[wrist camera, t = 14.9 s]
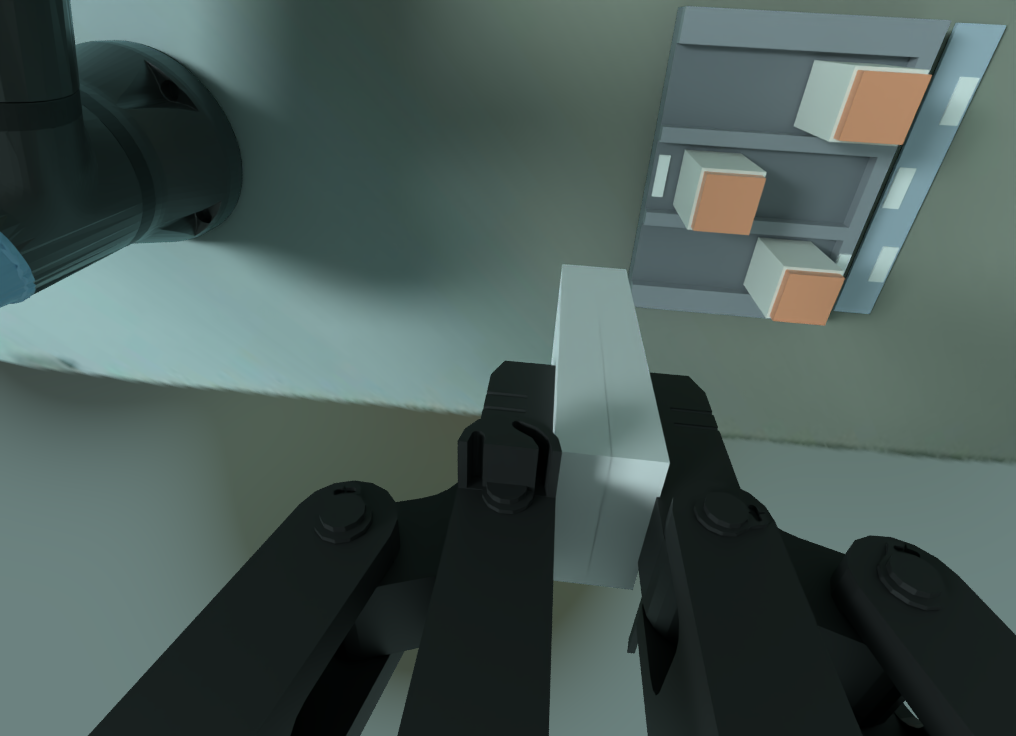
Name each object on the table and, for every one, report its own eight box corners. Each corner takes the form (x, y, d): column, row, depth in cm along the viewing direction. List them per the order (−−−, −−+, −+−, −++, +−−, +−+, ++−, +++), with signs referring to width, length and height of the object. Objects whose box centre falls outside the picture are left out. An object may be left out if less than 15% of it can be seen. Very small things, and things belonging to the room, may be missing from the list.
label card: (832, 309, 46) (834, 311, 46) (955, 22, 35) (959, 22, 34) (867, 312, 46) (870, 314, 45) (1003, 25, 34) (1008, 25, 34)
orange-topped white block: (672, 204, 40) (689, 233, 35) (684, 149, 38) (704, 170, 33) (725, 208, 40) (751, 238, 35) (740, 153, 38) (770, 175, 32)
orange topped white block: (743, 284, 43) (769, 323, 38) (758, 237, 41) (788, 270, 35) (793, 288, 43) (826, 328, 37) (810, 241, 41) (849, 275, 35)
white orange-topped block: (793, 126, 37) (834, 144, 31) (814, 60, 35) (862, 66, 29) (852, 130, 37) (904, 148, 31) (877, 63, 34) (938, 70, 29)
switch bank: (625, 291, 47) (628, 307, 44) (678, 7, 36) (686, 6, 33) (809, 307, 46) (823, 324, 43) (923, 21, 35) (953, 20, 32)
